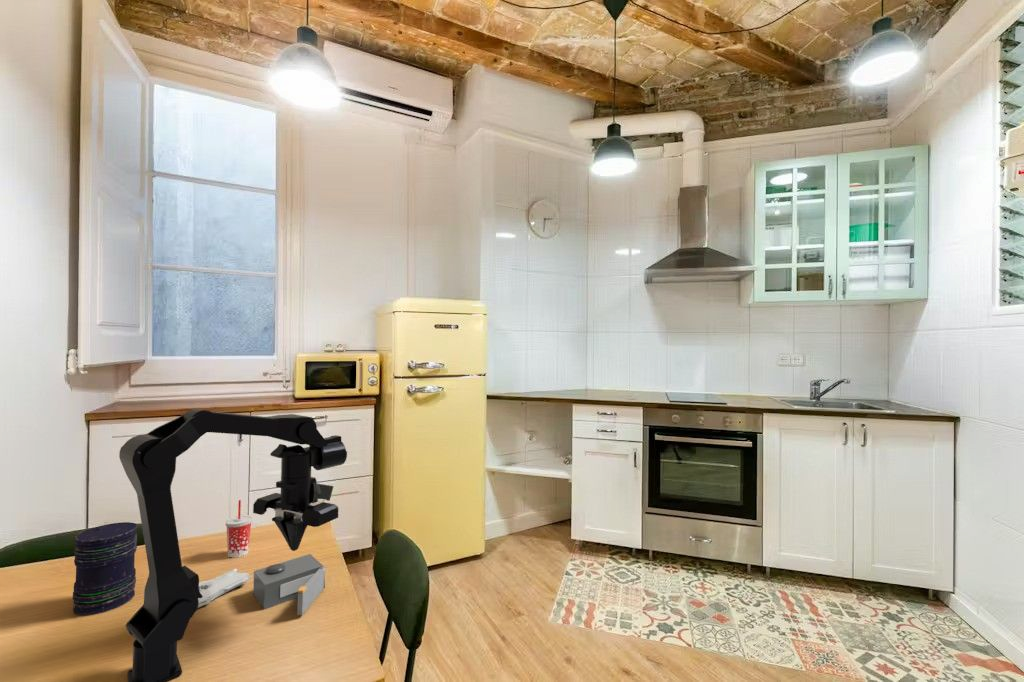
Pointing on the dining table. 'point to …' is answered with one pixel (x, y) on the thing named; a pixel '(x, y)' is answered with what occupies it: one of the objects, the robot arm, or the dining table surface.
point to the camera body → (283, 580)
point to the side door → (310, 590)
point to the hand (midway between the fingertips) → (294, 549)
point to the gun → (220, 585)
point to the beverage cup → (238, 534)
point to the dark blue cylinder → (104, 568)
